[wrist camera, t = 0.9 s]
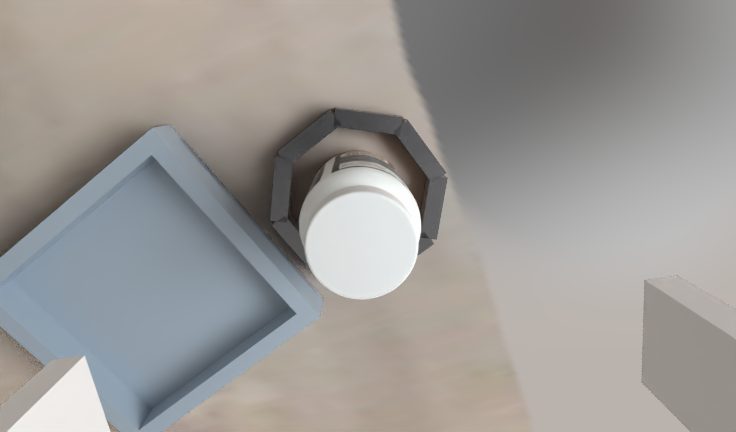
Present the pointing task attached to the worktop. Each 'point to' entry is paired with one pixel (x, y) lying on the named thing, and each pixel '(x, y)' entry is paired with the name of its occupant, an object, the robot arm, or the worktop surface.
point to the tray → (153, 285)
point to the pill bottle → (359, 226)
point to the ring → (366, 122)
